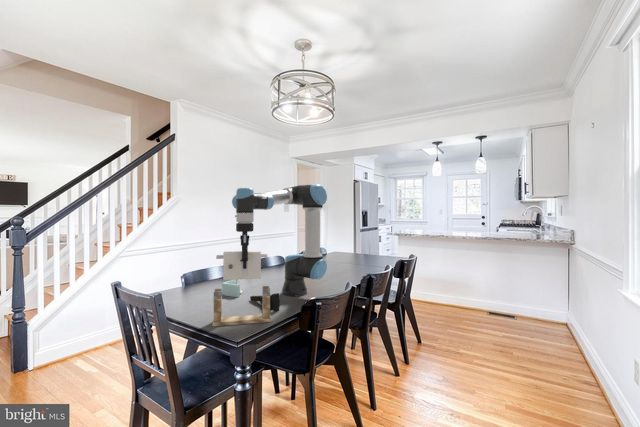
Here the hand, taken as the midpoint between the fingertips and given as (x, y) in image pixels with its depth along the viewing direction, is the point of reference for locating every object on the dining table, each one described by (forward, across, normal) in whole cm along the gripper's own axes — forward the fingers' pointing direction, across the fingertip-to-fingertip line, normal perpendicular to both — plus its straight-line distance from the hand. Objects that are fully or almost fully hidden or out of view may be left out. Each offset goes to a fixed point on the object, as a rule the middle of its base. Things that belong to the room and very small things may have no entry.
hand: (244, 274), depth 138 cm
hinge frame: (+21, 0, -1) cm, 21 cm away
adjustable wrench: (+22, -22, +10) cm, 32 cm away
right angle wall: (+22, -48, -5) cm, 53 cm away
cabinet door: (+2, 0, -1) cm, 2 cm away
